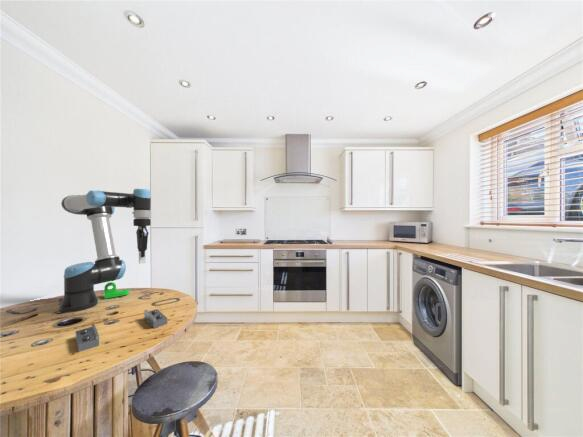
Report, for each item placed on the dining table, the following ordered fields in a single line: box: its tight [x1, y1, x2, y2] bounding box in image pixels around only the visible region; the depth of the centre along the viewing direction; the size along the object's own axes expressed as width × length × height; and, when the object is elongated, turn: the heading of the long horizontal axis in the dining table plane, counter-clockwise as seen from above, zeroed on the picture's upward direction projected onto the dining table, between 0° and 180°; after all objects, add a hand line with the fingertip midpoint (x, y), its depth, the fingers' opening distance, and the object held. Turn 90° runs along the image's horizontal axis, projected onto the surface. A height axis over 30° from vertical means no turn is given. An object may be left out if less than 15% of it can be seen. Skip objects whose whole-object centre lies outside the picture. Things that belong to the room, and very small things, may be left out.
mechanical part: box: [104, 281, 130, 300], centre depth 138 cm, size 12×6×8 cm, turn 130°
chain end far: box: [143, 308, 168, 329], centre depth 103 cm, size 14×6×4 cm, turn 48°
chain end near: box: [75, 323, 100, 353], centre depth 85 cm, size 14×6×4 cm, turn 48°
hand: (142, 263), depth 117 cm, fingers closed
